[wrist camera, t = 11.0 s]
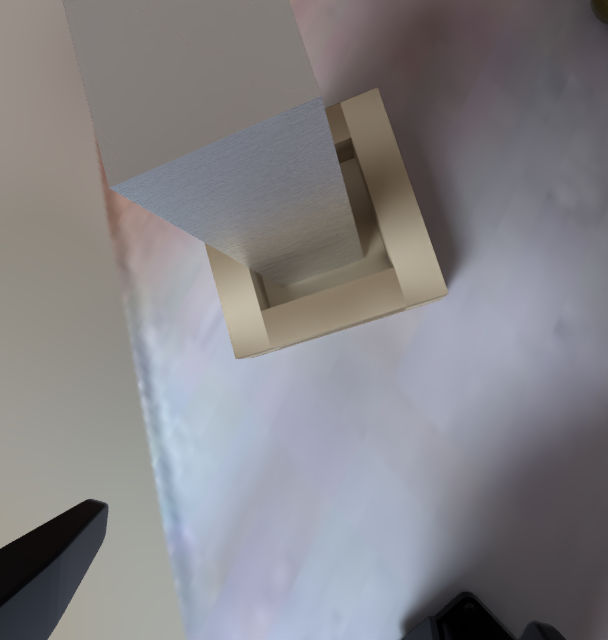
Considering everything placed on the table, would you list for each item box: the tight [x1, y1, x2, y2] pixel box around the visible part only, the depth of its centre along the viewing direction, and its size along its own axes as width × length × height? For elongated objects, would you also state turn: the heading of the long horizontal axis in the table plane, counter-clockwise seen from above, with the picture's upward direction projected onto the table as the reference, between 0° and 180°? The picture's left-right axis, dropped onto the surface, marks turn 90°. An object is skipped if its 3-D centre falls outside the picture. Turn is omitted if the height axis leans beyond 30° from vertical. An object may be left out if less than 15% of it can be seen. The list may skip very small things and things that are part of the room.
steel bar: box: [62, 0, 364, 287], centre depth 14 cm, size 4×4×13 cm
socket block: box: [205, 87, 448, 359], centre depth 20 cm, size 10×10×3 cm
